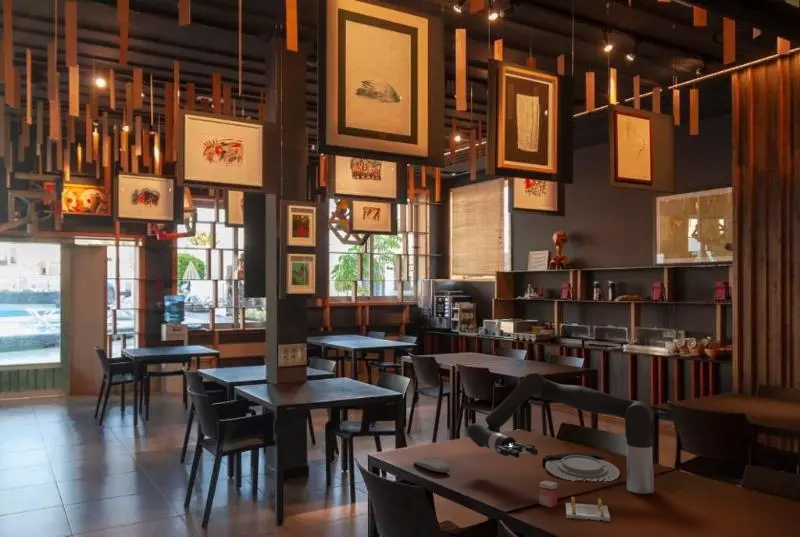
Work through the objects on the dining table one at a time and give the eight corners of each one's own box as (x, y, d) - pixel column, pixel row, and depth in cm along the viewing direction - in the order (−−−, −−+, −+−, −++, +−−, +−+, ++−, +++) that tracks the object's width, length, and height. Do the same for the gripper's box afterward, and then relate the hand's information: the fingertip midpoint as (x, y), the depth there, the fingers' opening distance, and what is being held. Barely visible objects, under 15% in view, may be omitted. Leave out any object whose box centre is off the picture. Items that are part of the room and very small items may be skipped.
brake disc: (539, 460, 290) (539, 449, 290) (607, 462, 288) (607, 451, 288) (552, 483, 258) (552, 471, 258) (629, 484, 256) (629, 472, 256)
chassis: (607, 509, 226) (606, 498, 227) (610, 521, 215) (610, 510, 215) (565, 506, 230) (565, 495, 230) (566, 517, 218) (566, 506, 218)
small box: (538, 504, 231) (538, 482, 231) (545, 501, 234) (545, 479, 235) (551, 508, 228) (551, 485, 228) (557, 505, 231) (557, 482, 231)
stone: (430, 462, 289) (409, 464, 285) (430, 454, 289) (409, 456, 285) (453, 474, 266) (431, 477, 263) (453, 465, 267) (431, 468, 263)
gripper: (487, 436, 253) (512, 445, 238) (516, 432, 259) (543, 441, 245) (487, 455, 253) (512, 466, 238) (516, 451, 259) (543, 461, 245)
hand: (527, 453), depth 242 cm, fingers open, 8 cm apart
